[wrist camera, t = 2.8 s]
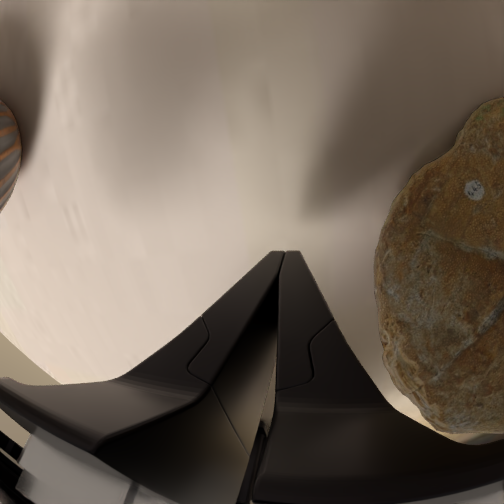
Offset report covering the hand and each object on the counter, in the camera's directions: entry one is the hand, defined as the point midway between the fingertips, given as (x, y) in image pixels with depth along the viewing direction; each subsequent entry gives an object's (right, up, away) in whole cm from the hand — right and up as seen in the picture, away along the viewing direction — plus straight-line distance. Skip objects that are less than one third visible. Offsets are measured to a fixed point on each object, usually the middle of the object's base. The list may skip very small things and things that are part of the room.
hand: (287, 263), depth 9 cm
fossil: (+7, +2, 0) cm, 7 cm away
